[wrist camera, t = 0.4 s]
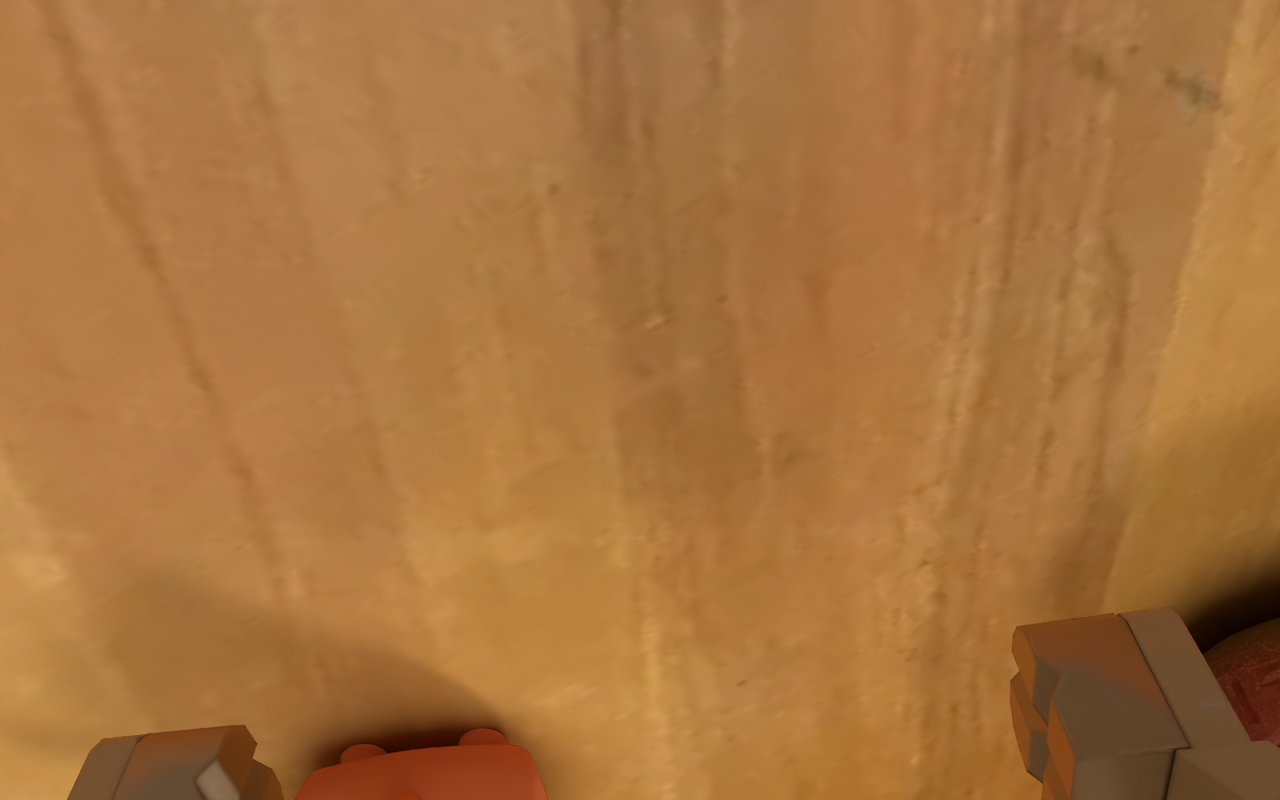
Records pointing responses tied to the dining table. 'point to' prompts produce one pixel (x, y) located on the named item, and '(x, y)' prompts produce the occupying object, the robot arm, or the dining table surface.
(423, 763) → the teapot
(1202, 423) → the dining table surface
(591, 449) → the dining table surface
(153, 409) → the dining table surface
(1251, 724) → the bowl
